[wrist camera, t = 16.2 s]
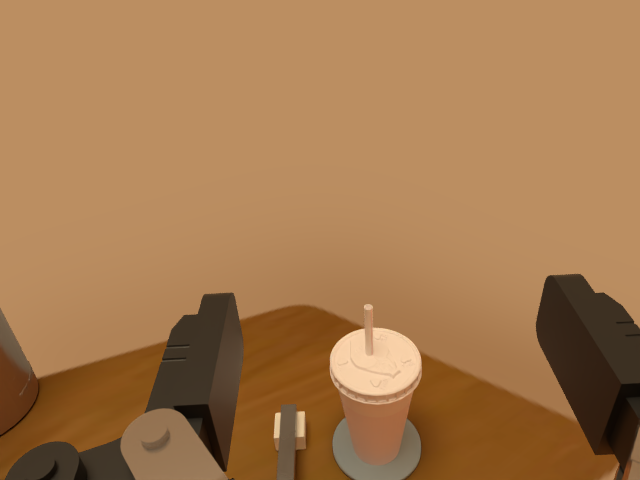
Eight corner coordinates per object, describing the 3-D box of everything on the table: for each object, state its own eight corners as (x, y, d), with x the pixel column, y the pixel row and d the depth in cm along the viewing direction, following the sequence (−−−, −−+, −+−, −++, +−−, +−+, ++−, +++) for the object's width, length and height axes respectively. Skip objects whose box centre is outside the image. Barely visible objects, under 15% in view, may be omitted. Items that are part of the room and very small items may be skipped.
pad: (349, 499, 39) (349, 496, 38) (321, 423, 44) (321, 420, 44) (436, 470, 40) (436, 467, 40) (399, 400, 46) (399, 397, 45)
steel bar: (293, 554, 34) (291, 544, 33) (274, 555, 34) (272, 545, 33) (297, 413, 43) (296, 404, 43) (282, 414, 43) (281, 404, 43)
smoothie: (374, 398, 46) (373, 268, 38) (434, 445, 41) (445, 310, 34) (319, 443, 42) (304, 311, 34) (378, 499, 38) (376, 363, 30)
